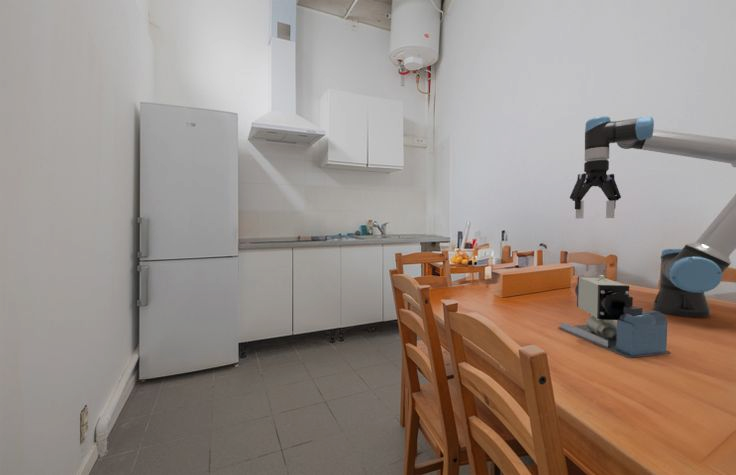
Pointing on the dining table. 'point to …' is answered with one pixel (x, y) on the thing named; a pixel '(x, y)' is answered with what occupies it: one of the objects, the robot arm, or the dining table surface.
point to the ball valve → (602, 303)
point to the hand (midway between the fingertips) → (594, 218)
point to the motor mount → (630, 333)
